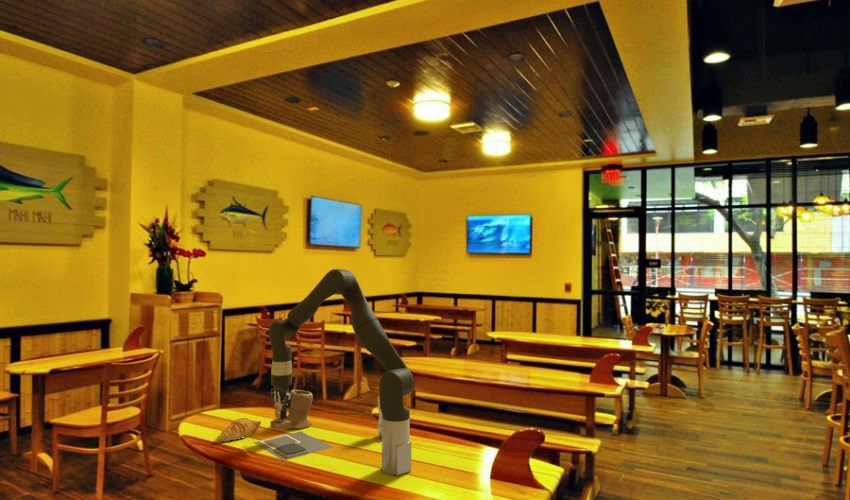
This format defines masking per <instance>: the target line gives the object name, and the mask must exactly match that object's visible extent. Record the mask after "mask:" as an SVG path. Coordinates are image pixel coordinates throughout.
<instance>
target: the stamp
mask: <svg viewBox="0 0 850 500" xmlns="http://www.w3.org/2000/svg"><path fill="white" fill-rule="evenodd" d="M281 401H284V400H281ZM283 404H284V403H283ZM280 410H281V408H280V404H279V400H278V401H277V403H276V407H275V411H276V416H275V419H276V420H274V419H273V420H270V426H269V427H270V428H272V429H274V430H276V431H282V430H284V429H285V430H286V429H289V428H290V427H291V421H289V420H287V419H284V420H281V419H280ZM290 429H291V428H290Z"/></svg>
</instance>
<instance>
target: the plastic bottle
mask: <svg viewBox="0 0 850 500" xmlns="http://www.w3.org/2000/svg"><path fill="white" fill-rule="evenodd" d="M376 400H377V408H378V421H377V422H378V423H377V424H378V425H377V429H376V430H377V432H376V433H377V435H378V437H379V438H382V412H381V409H380V395H379V394H378V397H377V399H376Z"/></svg>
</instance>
